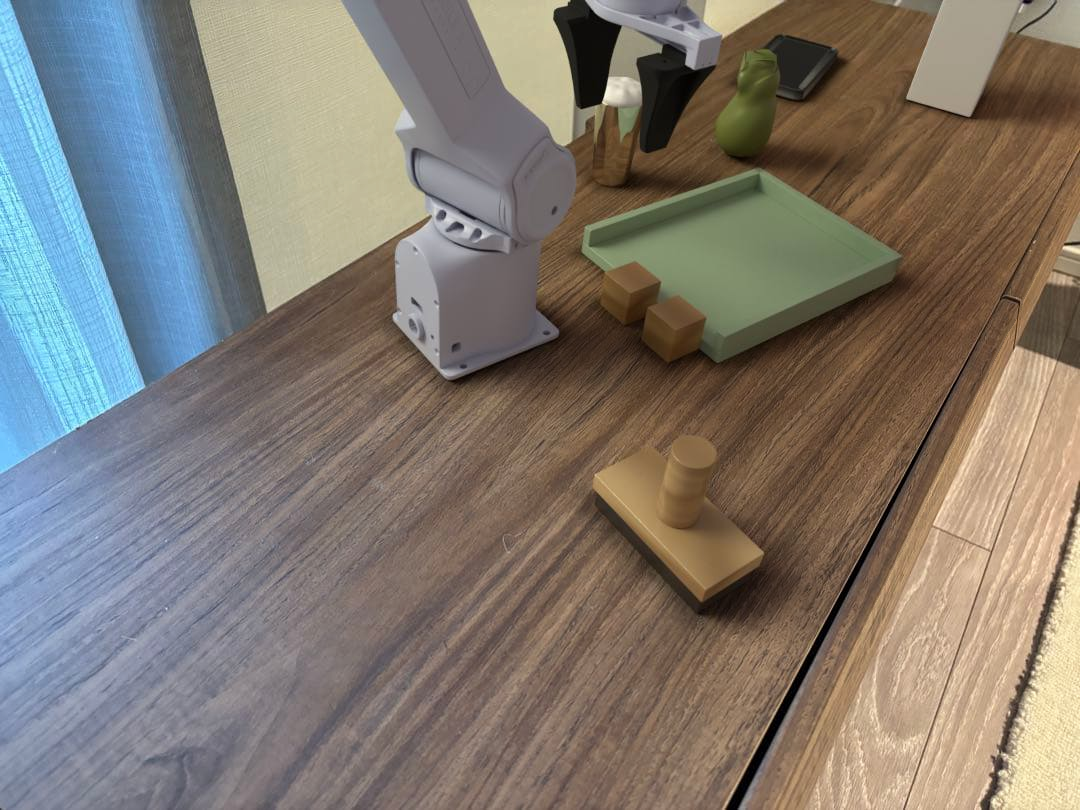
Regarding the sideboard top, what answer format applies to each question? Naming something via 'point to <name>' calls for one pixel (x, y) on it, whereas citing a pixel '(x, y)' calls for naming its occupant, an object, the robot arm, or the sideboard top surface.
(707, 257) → the tray
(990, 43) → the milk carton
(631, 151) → the milkshake
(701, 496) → the brush
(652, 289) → the crumb
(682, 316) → the crumb
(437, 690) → the sideboard top surface
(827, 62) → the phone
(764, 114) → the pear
